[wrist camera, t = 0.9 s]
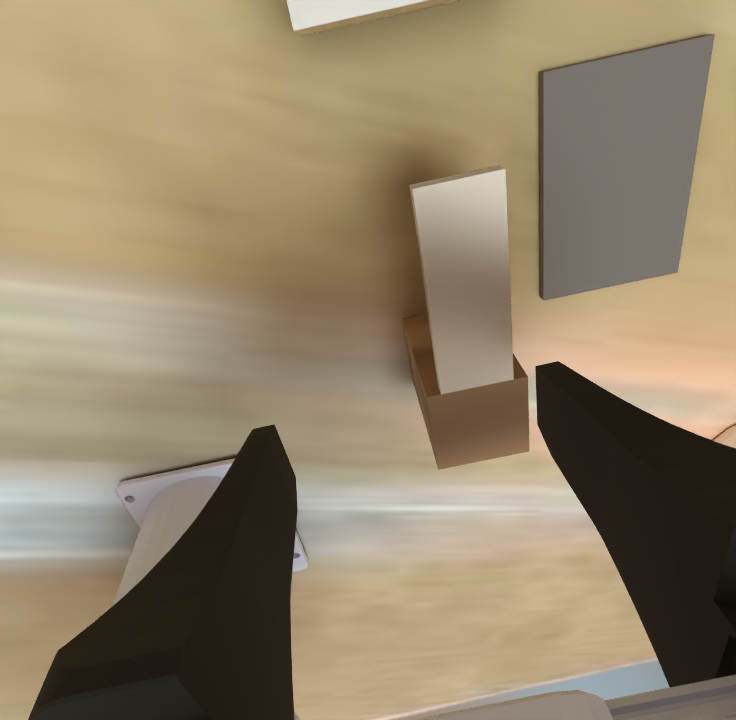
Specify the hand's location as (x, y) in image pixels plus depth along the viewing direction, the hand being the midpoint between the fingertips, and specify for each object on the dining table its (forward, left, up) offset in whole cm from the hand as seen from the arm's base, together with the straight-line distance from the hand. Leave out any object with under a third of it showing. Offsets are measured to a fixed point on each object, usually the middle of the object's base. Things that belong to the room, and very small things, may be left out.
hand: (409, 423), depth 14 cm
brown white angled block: (0, -3, -10) cm, 10 cm away
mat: (+2, -10, -10) cm, 14 cm away
